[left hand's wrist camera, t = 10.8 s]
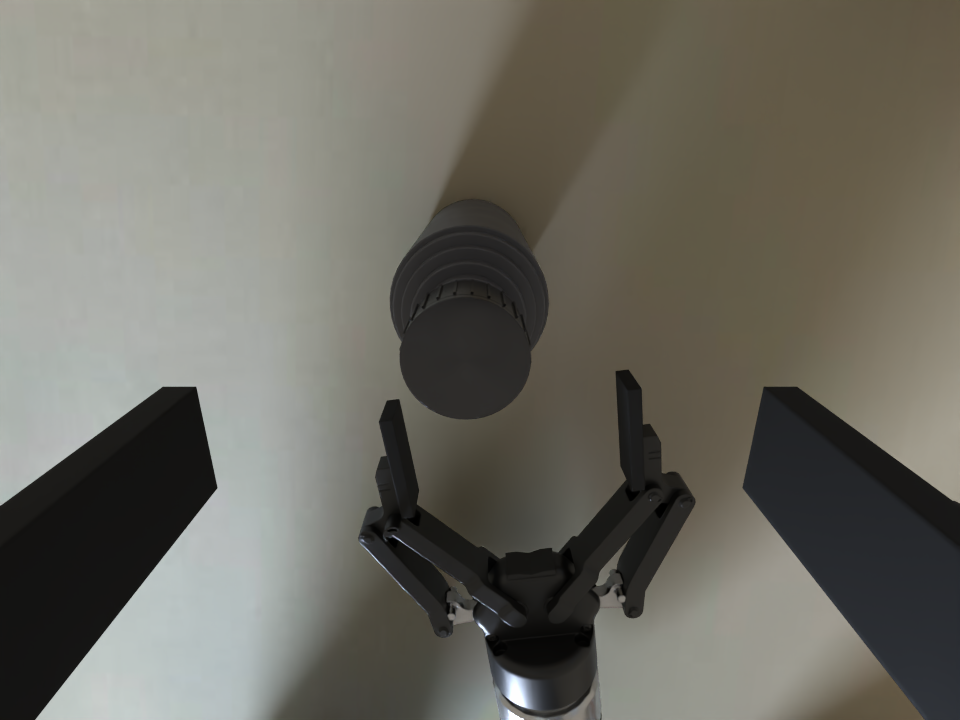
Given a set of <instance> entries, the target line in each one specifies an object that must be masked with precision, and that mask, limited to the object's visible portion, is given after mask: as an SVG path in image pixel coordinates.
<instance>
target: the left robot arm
mask: <svg viewBox="0 0 960 720" xmlns="http://www.w3.org/2000/svg"><path fill="white" fill-rule="evenodd" d="M216 489H217V484H216V479H215V474H214V469H213V465H212V460H211V455H210V450H209V446H208V441H207V436H206V431H205V427H204V422H203V417H202V412H201V408H200V403H199V398H198V393H197V389H196V387H162V388H161V389H159V390H158V391H157V392H155V393H154V394H152V395H151V396H150V397H148V398H147V399H146V400H144V401H143V402H142V403H140V404H139V405H137V406H136V407H135V408H133V409H132V410H131V411H129V412H128V413H127V414H125V415H124V416H123V417H121V418H120V419H118V420H117V421H116V422H114V423H113V424H112V425H110V426H109V427H108V428H106V429H105V430H103V431H102V432H101V433H99V434H98V435H97V436H95V437H94V438H93V439H91V440H90V441H88V442H87V443H86V444H84V445H83V446H82V447H80V448H79V449H78V450H76V451H75V452H73V453H72V454H71V455H69V456H68V457H67V458H65V459H64V460H63V461H61V462H60V463H58V464H57V465H56V466H54V467H53V468H52V469H50V470H49V471H48V472H46V473H45V474H43V475H42V476H41V477H39V478H38V479H37V480H35V481H34V482H33V483H31V484H30V485H28V486H27V487H26V488H24V489H23V490H22V491H20V492H19V493H18V494H16V495H15V496H13V497H12V498H11V499H9V500H8V501H7V502H5V503H4V504H3V505H1V506H0V720H35V719H36V718H37V717H38V715H39V714H40V713H41V712H42V710H43V709H44V708H45V706H46V705H47V704H48V703H49V701H50V700H51V699H52V698H53V696H54V695H55V694H56V692H57V691H58V690H59V689H60V687H61V686H62V685H63V684H64V682H65V681H66V680H67V678H68V677H69V676H70V675H71V673H72V672H73V671H74V670H75V668H76V667H77V666H78V665H79V663H80V662H81V661H82V659H83V658H84V657H85V656H86V654H87V653H88V652H89V651H90V649H91V648H92V647H93V645H94V644H95V643H96V642H97V640H98V639H99V638H100V637H101V635H102V634H103V633H104V631H105V630H106V629H107V628H108V626H109V625H110V624H111V623H112V621H113V620H114V619H115V617H116V616H117V615H118V614H119V612H120V611H121V610H122V609H123V607H124V606H125V605H126V604H127V602H128V601H129V600H130V598H131V597H132V596H133V595H134V593H135V592H136V591H137V590H138V588H139V587H140V586H141V584H142V583H143V582H144V581H145V579H146V578H147V577H148V576H149V574H150V573H151V572H152V570H153V569H154V568H155V567H156V565H157V564H158V563H159V562H160V560H161V559H162V558H163V556H164V555H165V554H166V553H167V551H168V550H169V549H170V548H171V546H172V545H173V544H174V542H175V541H176V540H177V539H178V537H179V536H180V535H181V534H182V532H183V531H184V530H185V529H186V527H187V526H188V525H189V523H190V522H191V521H192V520H193V518H194V517H195V516H196V515H197V513H198V512H199V511H200V509H201V508H202V507H203V506H204V504H205V503H206V502H207V501H208V499H209V498H210V497H211V495H212V494H213V493H214V492H215V490H216ZM743 489H744V490H745V492H746V493H747V494H748V495H749V497H750V498H751V499H752V501H753V502H754V503H755V504H756V506H757V507H758V508H759V509H760V511H761V512H762V513H763V515H764V516H765V517H766V518H767V520H768V521H769V522H770V523H771V525H772V526H773V527H774V529H775V530H776V531H777V532H778V534H779V535H780V536H781V537H782V539H783V540H784V541H785V543H786V544H787V545H788V546H789V548H790V549H791V550H792V551H793V553H794V554H795V555H796V556H797V558H798V559H799V560H800V562H801V563H802V564H803V565H804V567H805V568H806V569H807V570H808V572H809V573H810V574H811V576H812V577H813V578H814V579H815V581H816V582H817V583H818V584H819V586H820V587H821V588H822V590H823V591H824V592H825V593H826V595H827V596H828V597H829V598H830V600H831V601H832V602H833V604H834V605H835V606H836V607H837V609H838V610H839V611H840V612H841V614H842V615H843V616H844V617H845V619H846V620H847V621H848V623H849V624H850V625H851V626H852V628H853V629H854V630H855V631H856V633H857V634H858V635H859V637H860V638H861V639H862V640H863V642H864V643H865V644H866V645H867V647H868V648H869V649H870V651H871V652H872V653H873V654H874V656H875V657H876V658H877V659H878V661H879V662H880V663H881V665H882V666H883V667H884V668H885V670H886V671H887V672H888V673H889V675H890V676H891V677H892V678H893V680H894V681H895V682H896V684H897V685H898V686H899V687H900V689H901V690H902V691H903V692H904V694H905V695H906V696H907V698H908V699H909V700H910V701H911V703H912V704H913V705H914V706H915V708H916V709H917V710H918V712H919V713H920V714H921V715H922V717H923V718H924V719H925V720H960V503H958V502H956V501H952V500H951V499H949V498H948V497H947V496H945V495H944V494H942V493H941V492H940V491H938V490H937V489H936V488H934V487H933V486H932V485H930V484H929V483H927V482H926V481H925V480H923V479H922V478H921V477H919V476H918V475H917V474H915V473H914V472H912V471H911V470H910V469H908V468H907V467H906V466H904V465H903V464H902V463H900V462H899V461H897V460H896V459H895V458H893V457H892V456H891V455H889V454H888V453H887V452H885V451H884V450H882V449H881V448H880V447H878V446H877V445H876V444H874V443H873V442H872V441H870V440H869V439H867V438H866V437H865V436H863V435H862V434H861V433H859V432H858V431H857V430H855V429H854V428H852V427H851V426H850V425H848V424H847V423H846V422H844V421H843V420H842V419H840V418H839V417H837V416H836V415H835V414H833V413H832V412H831V411H829V410H828V409H827V408H825V407H824V406H822V405H821V404H820V403H818V402H817V401H816V400H814V399H813V398H812V397H810V396H809V395H807V394H806V393H805V392H803V391H802V390H801V389H799V388H798V387H764V388H763V393H762V398H761V403H760V407H759V412H758V417H757V422H756V426H755V431H754V436H753V441H752V445H751V450H750V455H749V460H748V464H747V469H746V474H745V479H744V483H743Z"/></svg>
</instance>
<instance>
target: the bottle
mask: <svg viewBox="0 0 960 720" xmlns="http://www.w3.org/2000/svg"><path fill="white" fill-rule="evenodd" d="M472 279H473V280H474V281H477V282H482V283H485V284H487V283H490V285H491V286H493V287H495V288H497V289H498V290H500V291H502V290H503V291H504V294H505V295H507V296H508V297H509V298H510V299H511V300H512V302H513V301H515V303H516V307H517V308H518V310H519V312H520V314H523V317H524V321H525V325H526V328H527V331H528V335H529V339H530V343H531V348H530V351H531V350H532V349H533V348H534V346H535V345H536V343H537V342H538V340H539V338H540V336H541V334H542V332H543V330H544V327H545V324H546V320H547V316H548V306H549V300H548V290H547V285H546V281H545V278H544V275H543V273H542V271H541V269H540V267H539V265H538V263H537V261H536V259H535V257H534V255H533V253H532V251H531V250H530V248H529V246H528V244H527V242H526V240H525V238H524V236H523V234H522V232H521V231H520V229H519V227H518V225H517V224H516V222H515V221H514V219H513V218H512V217H511V216H510V215H509V214H508V213H507V212H506V211H505V210H503V209H502V208H500V207H499V206H497V205H495V204H493V203H490V202H487V201H483V200H473V199H471V200H463V201H459V202H456V203H453V204H451V205H449V206H447V207H445V208H444V209H442V210H441V211H440V212H439V213H438V214H437V215H436V216H435V217H434V218H433V219H432V220H431V222H430V223H429V224H428V226H427V227H426V228H425V230H424V231H423V233H422V234H421V235H420V237H419V238H418V239H417V241H416V242H415V243H414V245H413V246H412V247H411V249H410V250H409V252H408V253H407V254H406V256H405V257H404V258H403V260H402V261H401V263H400V265H399V267H398V268H397V271H396V273H395V276H394V278H393V282H392V286H391V293H390V311H391V317H392V321H393V324H394V328H395V330H396V332H397V334H398V337H399V338H400V340H401V342H402V340H403V337H404V335H403V332H404V329H405V327H406V325H407V322H408V320H409V318H410V317H411V316H412V313H413V311H414V309H415V306H416V304H417V303H418V304H419V303H420V302H421V301H422V300H423V298H425V296H426V293H428V292H429V293H430V292H432V291H433V290H435V289H436V288H438V287H439V286H440V285H441V284H442V285H445V284H447V283H451V282H455V280H458V281H464V280H467V281H472Z"/></svg>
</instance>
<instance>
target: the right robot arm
mask: <svg viewBox="0 0 960 720" xmlns="http://www.w3.org/2000/svg"><path fill="white" fill-rule="evenodd" d="M616 389H617V408H618V427H619V446H620V465H621V468H622V470H623V473H624V475H625V477H626V479H627V480H626V481H625V482H624V483H623V484H622V485H621V487H620V488H619V489H618V490H617V491H616V492H615V494H614V495H613V496H612V497H611V498H610V499H609V501H608V502H607V503H606V504H605V505H604V506H603V508H602V509H601V510H600V511H599V512H598V513H597V515H596V516H595V517H594V518H593V519H592V520H591V522H590V523H589V524H588V525H587V526H586V527H585V529H584V530H583V531H582V532H581V533H580V534H579V536H577V537H575V536H573V537H572V538H571V539H570V540H569V541H568V542H567V543H566V544H565V546H564V547H563V548H562V549H561V550H560V551H559V553H558V552H552V548H546V549H539V550H536V551H533V552H530V553H523V552H511V553H505V555H506V557H504V558H502V559H499V558H498V557H497V556H495V555H494V554H493V553H491V552H490V551H488V550H487V549H486V548H484V547H479V548H477V547H476V546H474V545H473V544H472V543H470V542H469V541H467V540H466V539H465V538H463V537H462V536H460V535H459V534H458V533H456V532H455V531H453V530H452V529H451V528H449V527H448V526H446V525H445V524H444V523H442V522H441V521H439V520H438V519H437V518H435V517H434V516H432V515H431V514H430V513H428V512H427V511H425V510H424V509H423V508H421V507H420V506H418V505H417V499H418V493H419V488H418V483H417V479H416V474H415V469H414V465H413V460H412V456H411V451H410V446H409V442H408V437H407V432H406V428H405V423H404V419H403V414H402V409H401V405H400V400H399V399H396V400H389V401H387V402H386V405H385V407H384V410H383V413H382V415H381V418H380V420H379V424H380V429H381V433H382V437H383V441H384V446H385V450H386V454H387V456H383V457H381V458H380V462H379V465H378V468H377V471H376V476H375V478H376V482H377V485H378V490H379V494H380V498H381V502H382V506H381V507H371V508H369V509H368V510H367V512H366V515H365V518H364V521H363V525H362V528H361V531H360V534H359V537H358V538H359V542H360V543H361V545H362V546H363V547H364V548H365V549H366V550H367V551H368V552H369V553H370V554H371V555H372V556H373V557H374V558H375V559H376V560H377V561H378V562H379V563H380V565H381V566H382V567H383V568H384V569H385V570H386V571H387V572H388V573H389V574H390V575H391V576H392V577H393V578H394V579H395V580H396V581H397V582H398V583H399V584H400V586H401V587H402V588H403V589H404V590H405V591H406V592H407V593H408V594H409V595H410V596H411V597H412V598H413V599H414V600H415V601H416V602H417V603H418V604H419V605H420V607H421V608H422V609H423V610H424V611H425V612H426V613H427V614H428V616H429V619H430V621H431V624H432V627H433V629H434V632H435V634H436V635H437V636H439V637H442V638H446V637H449V636H450V635H452V632H453V625H456V624H462V623H467V622H472V621H475V622H476V624H477V625H478V626H479V627H480V628H481V629H482V630H483V632H484V636H485V642H486V647H487V652H488V658H489V663H490V669H491V673H492V677H493V685H494V690H495V695H496V700H497V705H498V710H499V715H500V720H601V697H600V687H599V676H598V667H597V652H596V640H595V628H594V619H595V616H596V614H597V613H598V611H599V609H600V608H623V610H624V613H625V615H626V616H627V617H629V618H637V617H639V616H640V615H641V614H642V612H643V606H644V597H645V590H646V589H647V587H648V585H649V584H650V582H651V580H652V578H653V577H654V575H655V573H656V571H657V570H658V568H659V566H660V564H661V563H662V561H663V559H664V557H665V556H666V554H667V552H668V550H669V549H670V547H671V545H672V544H673V542H674V540H675V538H676V537H677V535H678V533H679V531H680V530H681V528H682V526H683V524H684V523H685V521H686V519H687V517H688V516H689V514H690V512H691V511H692V509H693V507H694V505H695V498H694V497H693V495H692V493H691V492H690V490H689V489H688V487H687V485H686V484H685V482H684V481H683V479H682V477H681V476H680V475H679V473H677V472H668V473H666V474H663V473H662V472H661V442H660V440H659V438H658V436H657V434H656V433H655V431H654V430H653V428H652V427H651V425H650V424H645V425H643V416H642V389H641V387H640V386H639V384H638V383H637V381H636V380H635V378H634V377H633V375H632V374H631V373H630V371H629V370H621V371H616ZM629 538H630V539H629ZM628 539H629V541H628V543H627V545H626V546H625V548H624V550H623V552H622V554H621V556H620V558H619V561H618V564H617V570H616V569H612V570H610V572H609V574H610V576H609V577H608V579H607V581H606V583H605V584H603V585H601V586H596V585H595V583H596V582H597V580H598V577H599V572H600V570H601V569H602V568H603V567H604V566H605V565H606V563H607V562H608V561H609V560H610V559H611V558H612V557H613V556H614V555H615V553H616V552H617V551H618V550H619V549H620V548H621V547H622V546H623V545H624V543H625V542H626V541H627V540H628ZM432 563H433V564H434V565H436V566H437V567H439V568H440V569H442V570H443V571H444V572H446V573H447V574H449V575H450V576H452V577H453V578H455V579H456V580H458V581H459V582H460V583H462V584H463V585H465V587H466V588H467V591H468V593H469V594H470V595H471V596H472V597H473V599H472V600H468V599H464V598H463V597H462V596H461V595H460V594H459V593H458V592H457V588H456V587H450V588H449V586H448V583H447V582H446V580H445V578H444V577H443V576H442V575H441V573H440V572H439V571H438V570H437V569H436V568H435V567H434V566H433V565H432Z"/></svg>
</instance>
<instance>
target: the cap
mask: <svg viewBox="0 0 960 720" xmlns="http://www.w3.org/2000/svg"><path fill="white" fill-rule="evenodd" d="M403 335H404V337H403V340H402V344H401V347H400V366H401V372H402V375H403V378H404V380H405V382H406V385H407V386H408V388H409V390H410V391H411V393H412V394H413V395H414V396H415V397H416V399H418V400H419V401H420V402H421V403H422V404H423V405H424V406H426V407H427V408H429V409H430V410H432V411H434V412H436V413H438V414H441V415H443V416H446V417H450V418H456V419H477V418H482V417H486V416H489V415H492V414H494V413H496V412H498V411H500V410H501V409H503V408H505V407H506V406H507V405H508V404H510V403H511V402H512V401H513V400H514V399H515V398H516V397H517V396H518V394H519V393H520V392H521V390H522V389H523V387H524V385H525V383H526V381H527V378H528V375H529V371H530V366H531V351H530V348H531V343H530V339H529V335H528V331H527V328H526V325H525V321H524V317H523V314H520V312H519V310H518V308H517V307H516V303H515V301H513V302H512V300H511V299H510V298H509V297H508V296H507V295H505V294H504V291H503V290H502V291H500V290H498V289H497V288H495V287H493V286H491V285H490V283H487V284H485V283H482V282H477V281H474V280H473V279H472V281H467V280H464V281H458V280H455V282H451V283H447V284H445V285H442V284H441V285H440V286H439V287H438V288H436V289H435V290H433V291H432V292H430V293H429V292H428V293H426V296H425V298H423V300H422V301H421V302H420V303H419V304H418V303H417V304H416V306H415V309H414V311H413V313H412V316H411V317H410V318H409V320H408V322H407V325H406V327H405V329H404V332H403Z"/></svg>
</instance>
